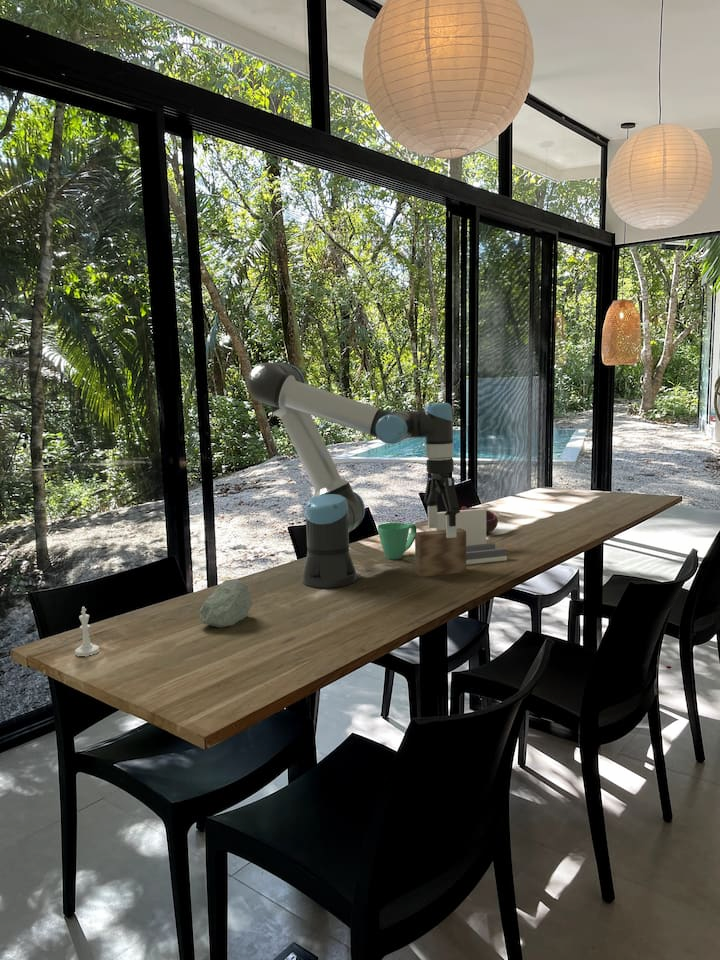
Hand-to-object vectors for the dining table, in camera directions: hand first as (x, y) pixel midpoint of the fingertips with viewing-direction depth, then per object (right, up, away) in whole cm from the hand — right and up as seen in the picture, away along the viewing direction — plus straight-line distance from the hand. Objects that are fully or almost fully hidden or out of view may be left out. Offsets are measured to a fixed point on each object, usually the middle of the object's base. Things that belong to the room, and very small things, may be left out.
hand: (441, 532), depth 203 cm
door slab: (0, -12, +2) cm, 12 cm away
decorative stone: (-55, -19, -34) cm, 67 cm away
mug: (-11, -9, +22) cm, 26 cm away
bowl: (+18, -4, +51) cm, 54 cm away
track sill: (+11, -9, +18) cm, 23 cm away
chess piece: (-81, -22, -51) cm, 98 cm away
